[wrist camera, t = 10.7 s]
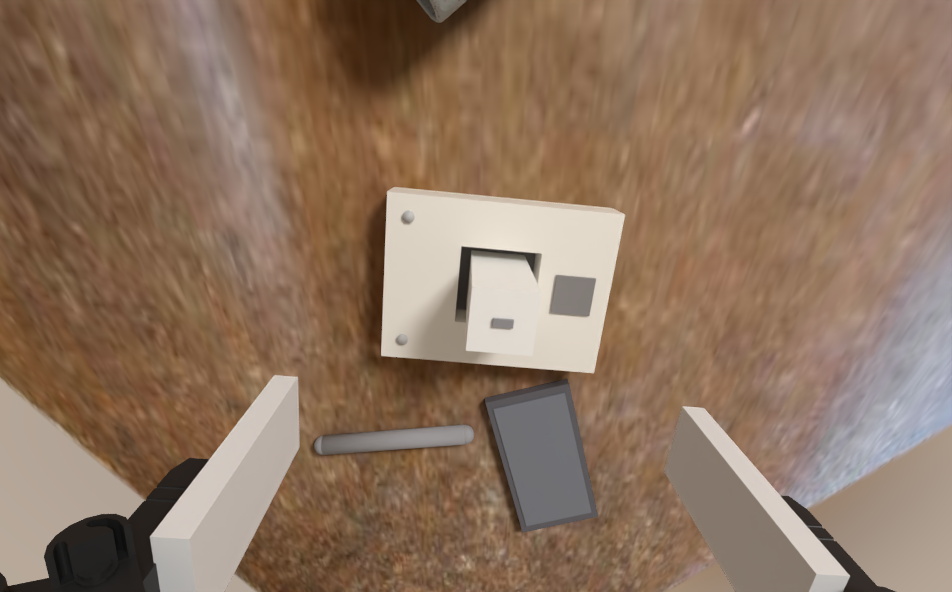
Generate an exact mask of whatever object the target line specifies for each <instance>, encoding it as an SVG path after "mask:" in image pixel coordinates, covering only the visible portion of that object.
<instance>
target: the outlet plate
mask: <svg viewBox="0 0 952 592" xmlns="http://www.w3.org/2000/svg"><path fill="white" fill-rule="evenodd" d="M624 218H625V214H623V213H621V212H619V211H617V210H615V209H613V208H606V207H596V206H585V205H575V204H565V203H554V202H544V201H534V200H524V199H513V198H503V197H493V196H482V195H472V194H462V193H452V192H441V191H431V190H421V189H411V188H400V187H393V188H392V189H390V190H389V191H387V209H386V236H385V263H384V290H383V317H382V344H381V356H389V357H401V358H413V359H426V360H438V361H450V362H462V363H475V364H487V365H499V366H512V367H524V368H536V369H548V370H561V371H573V372H585V373H594V370H595V365H596V360H597V355H598V350H599V345H600V339H601V334H602V329H603V324H604V319H605V314H606V309H607V304H608V299H609V294H610V289H611V284H612V279H613V274H614V268H615V263H616V258H617V253H618V248H619V243H620V238H621V233H622V228H623V223H624ZM471 250H474V251H485V252H496V253H507V254H518V255H525V257H526V260H527V262H528V264H529V266H530V268H531V271H532V273H533V275H534V277H535V279H536V281H537V284H538V286H539V288H540V290H541V292H542V295H541V302H540V308H539V315H538V322H537V328H536V335H535V342H534V349H533V355H532V356H524V355H512V354H500V353H487V352H475V351H466V300H467V290H468V279H469V269H470V259H471Z"/></svg>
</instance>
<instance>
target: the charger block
mask: <svg viewBox="0 0 952 592" xmlns="http://www.w3.org/2000/svg"><path fill="white" fill-rule="evenodd" d="M541 295H542V292H541V290H540V288H539V286H538V284H537V281H536V279H535V277H534V275H533V273H532V271H531V268H530V266H529V264H528V262H527V260H526V257H525V255H518V254H507V253H496V252H485V251H474V250H471V259H470V269H469V279H468V290H467V300H466V351H475V352H487V353H500V354H512V355H524V356H532V355H533V349H534V342H535V335H536V328H537V322H538V315H539V308H540V302H541Z"/></svg>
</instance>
